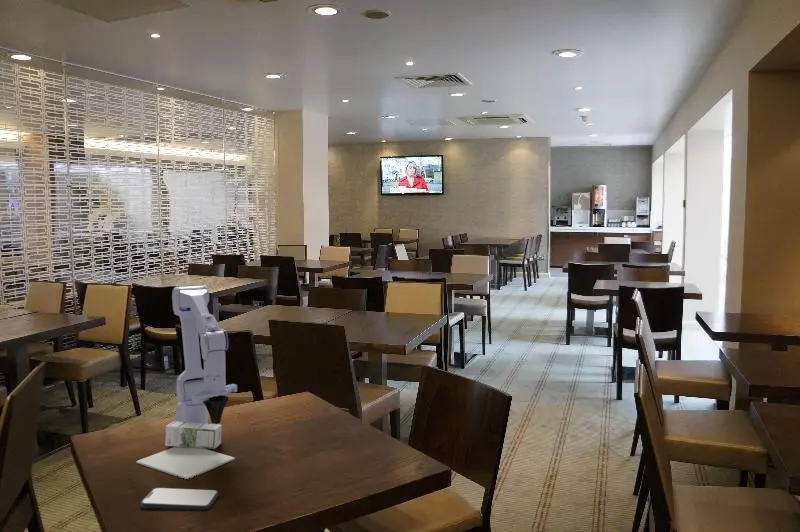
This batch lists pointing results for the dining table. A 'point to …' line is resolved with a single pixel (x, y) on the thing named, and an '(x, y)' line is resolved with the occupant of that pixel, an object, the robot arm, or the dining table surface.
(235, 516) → the dining table surface
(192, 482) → the dining table surface
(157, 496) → the phone case
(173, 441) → the syrup box
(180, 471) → the mat
